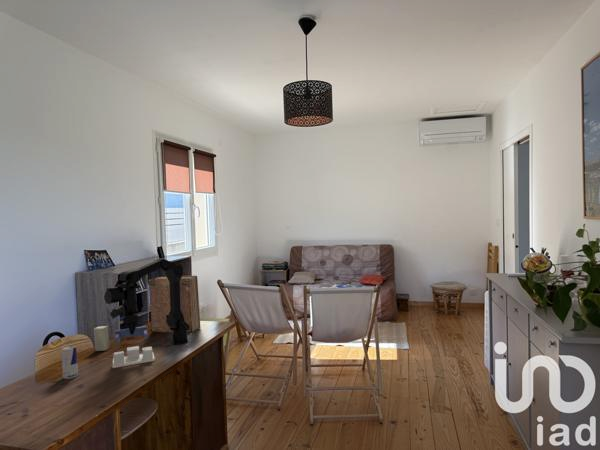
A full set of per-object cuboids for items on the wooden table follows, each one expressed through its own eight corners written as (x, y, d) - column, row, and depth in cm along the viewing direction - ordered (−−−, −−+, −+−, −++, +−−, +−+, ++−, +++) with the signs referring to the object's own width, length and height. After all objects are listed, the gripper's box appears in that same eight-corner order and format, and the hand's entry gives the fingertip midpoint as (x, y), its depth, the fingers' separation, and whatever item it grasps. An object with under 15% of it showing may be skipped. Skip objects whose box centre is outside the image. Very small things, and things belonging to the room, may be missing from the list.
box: (110, 347, 204) (108, 325, 204) (105, 350, 200) (103, 328, 200) (100, 348, 205) (98, 326, 204) (94, 351, 200) (93, 328, 200)
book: (200, 328, 231) (197, 275, 230) (192, 333, 222) (188, 278, 221) (161, 327, 238) (158, 276, 237) (151, 332, 229) (148, 278, 228)
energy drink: (81, 374, 170) (79, 345, 169) (70, 379, 165) (68, 350, 164) (71, 373, 171) (69, 345, 171) (60, 378, 166) (58, 349, 166)
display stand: (113, 360, 184) (112, 349, 184) (153, 354, 191) (152, 343, 191) (112, 368, 175) (111, 356, 175) (154, 360, 182) (153, 349, 181)
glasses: (116, 338, 183) (115, 330, 183) (147, 333, 188) (146, 325, 188) (115, 343, 174) (114, 335, 174) (147, 338, 179) (147, 330, 179)
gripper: (110, 298, 190) (113, 331, 190) (108, 305, 173) (111, 342, 173) (136, 295, 194) (138, 327, 195) (137, 302, 177) (139, 338, 177)
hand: (131, 333), depth 185 cm, fingers closed on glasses, 2 cm apart
